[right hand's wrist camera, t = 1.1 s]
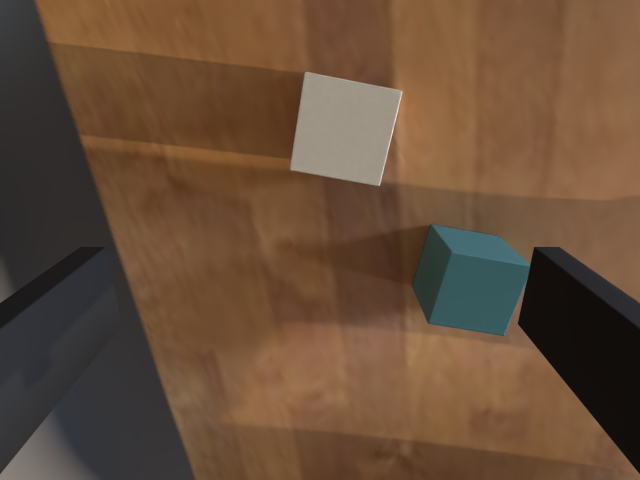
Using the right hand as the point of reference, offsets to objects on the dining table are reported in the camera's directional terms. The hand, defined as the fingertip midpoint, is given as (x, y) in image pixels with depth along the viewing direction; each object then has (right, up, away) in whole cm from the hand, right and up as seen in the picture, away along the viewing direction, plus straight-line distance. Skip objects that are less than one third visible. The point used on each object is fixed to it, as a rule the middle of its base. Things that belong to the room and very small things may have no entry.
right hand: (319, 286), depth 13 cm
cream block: (+1, +9, +13) cm, 16 cm away
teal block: (+10, 0, +16) cm, 19 cm away
